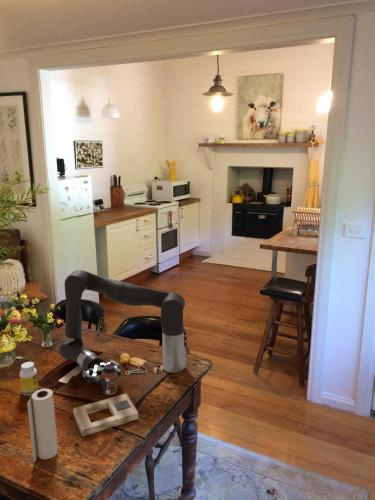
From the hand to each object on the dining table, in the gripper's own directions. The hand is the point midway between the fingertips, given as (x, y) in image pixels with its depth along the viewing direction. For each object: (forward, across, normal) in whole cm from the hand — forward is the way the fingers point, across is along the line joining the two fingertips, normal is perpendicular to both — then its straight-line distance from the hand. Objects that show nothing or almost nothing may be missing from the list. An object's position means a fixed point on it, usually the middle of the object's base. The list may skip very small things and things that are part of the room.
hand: (111, 378), depth 160 cm
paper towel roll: (+14, -33, +7) cm, 37 cm away
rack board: (+11, -9, +6) cm, 16 cm away
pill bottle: (-23, -23, +7) cm, 33 cm away
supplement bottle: (-1, 0, +7) cm, 7 cm away
